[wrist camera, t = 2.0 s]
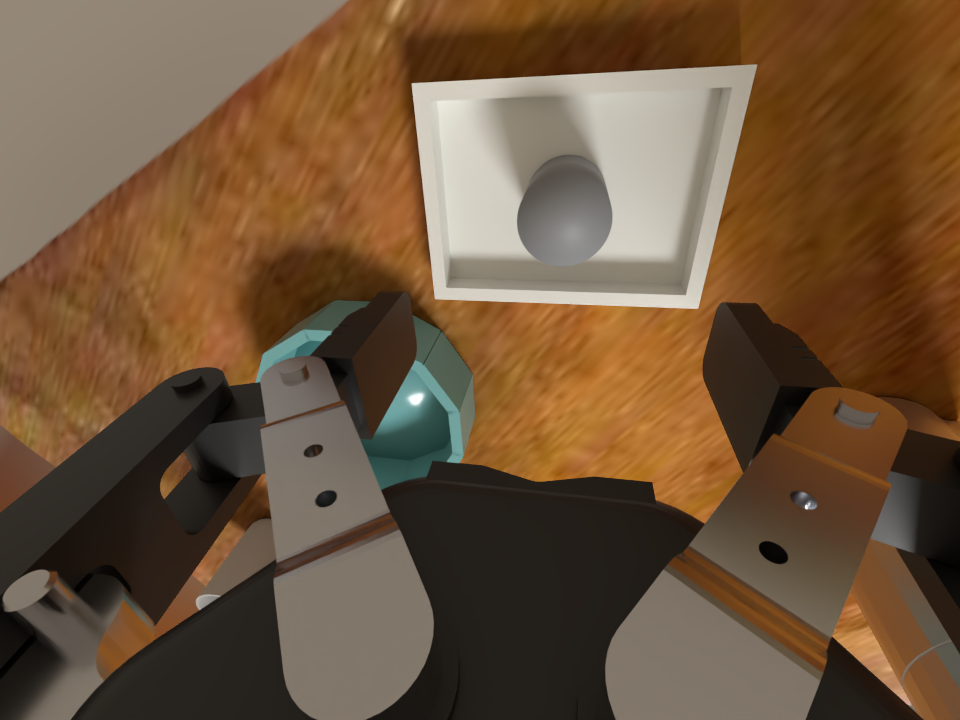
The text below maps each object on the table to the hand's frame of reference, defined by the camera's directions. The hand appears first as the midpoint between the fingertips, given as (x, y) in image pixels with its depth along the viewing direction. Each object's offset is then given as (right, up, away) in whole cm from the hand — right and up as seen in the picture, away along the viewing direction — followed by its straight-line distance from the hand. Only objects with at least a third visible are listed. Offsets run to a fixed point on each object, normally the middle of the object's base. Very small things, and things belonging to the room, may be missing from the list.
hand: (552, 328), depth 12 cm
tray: (+3, +9, +13) cm, 16 cm away
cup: (-24, -21, +39) cm, 50 cm away
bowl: (-10, -3, +24) cm, 26 cm away
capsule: (+3, +8, +13) cm, 16 cm away
